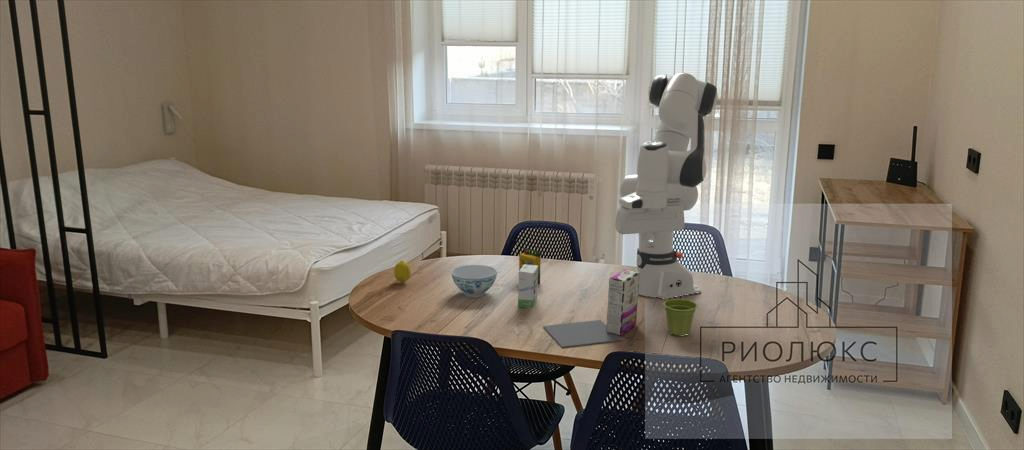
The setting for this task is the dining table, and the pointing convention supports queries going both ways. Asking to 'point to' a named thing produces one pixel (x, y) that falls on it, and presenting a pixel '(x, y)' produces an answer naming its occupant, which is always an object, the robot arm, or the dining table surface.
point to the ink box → (528, 286)
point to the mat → (581, 333)
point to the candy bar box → (622, 302)
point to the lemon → (402, 271)
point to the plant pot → (679, 315)
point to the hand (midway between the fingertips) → (649, 247)
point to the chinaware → (474, 279)
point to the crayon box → (530, 260)
